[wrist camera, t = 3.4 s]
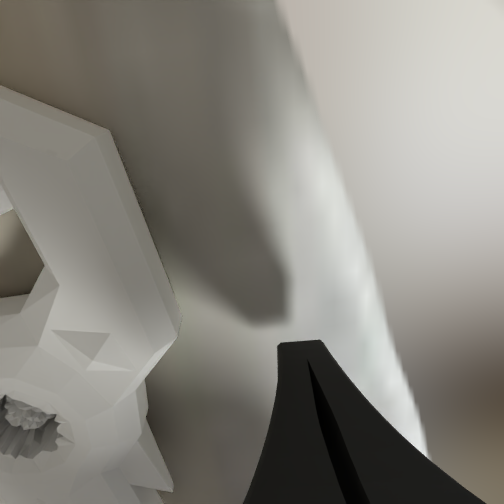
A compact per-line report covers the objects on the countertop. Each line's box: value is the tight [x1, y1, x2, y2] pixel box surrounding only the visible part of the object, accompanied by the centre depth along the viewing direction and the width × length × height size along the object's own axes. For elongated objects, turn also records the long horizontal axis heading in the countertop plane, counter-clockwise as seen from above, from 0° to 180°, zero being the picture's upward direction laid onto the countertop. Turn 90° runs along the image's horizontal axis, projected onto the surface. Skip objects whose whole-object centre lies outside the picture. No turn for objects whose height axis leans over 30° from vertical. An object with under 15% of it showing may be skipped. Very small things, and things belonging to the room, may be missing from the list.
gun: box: [0, 85, 182, 504], centre depth 13 cm, size 18×3×10 cm
